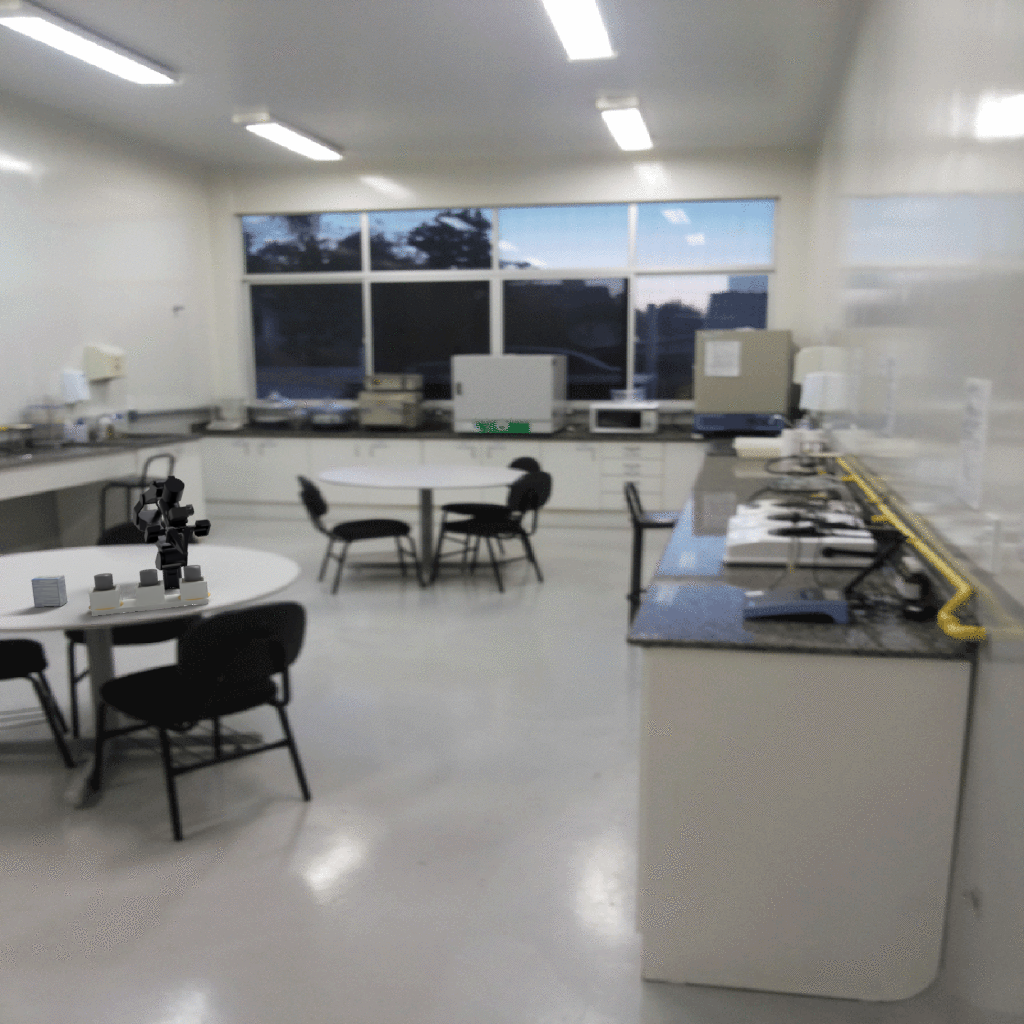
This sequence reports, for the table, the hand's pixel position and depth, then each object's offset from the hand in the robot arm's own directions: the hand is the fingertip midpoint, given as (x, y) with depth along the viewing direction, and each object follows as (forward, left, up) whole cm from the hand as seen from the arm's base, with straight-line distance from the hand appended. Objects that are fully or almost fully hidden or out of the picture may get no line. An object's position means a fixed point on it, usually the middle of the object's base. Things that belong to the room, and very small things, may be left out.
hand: (185, 553), depth 266 cm
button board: (+6, -10, -14) cm, 18 cm away
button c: (+6, -22, -7) cm, 24 cm away
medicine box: (-8, -38, -14) cm, 42 cm away
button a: (+6, +2, -7) cm, 9 cm away
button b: (+6, -10, -7) cm, 14 cm away
